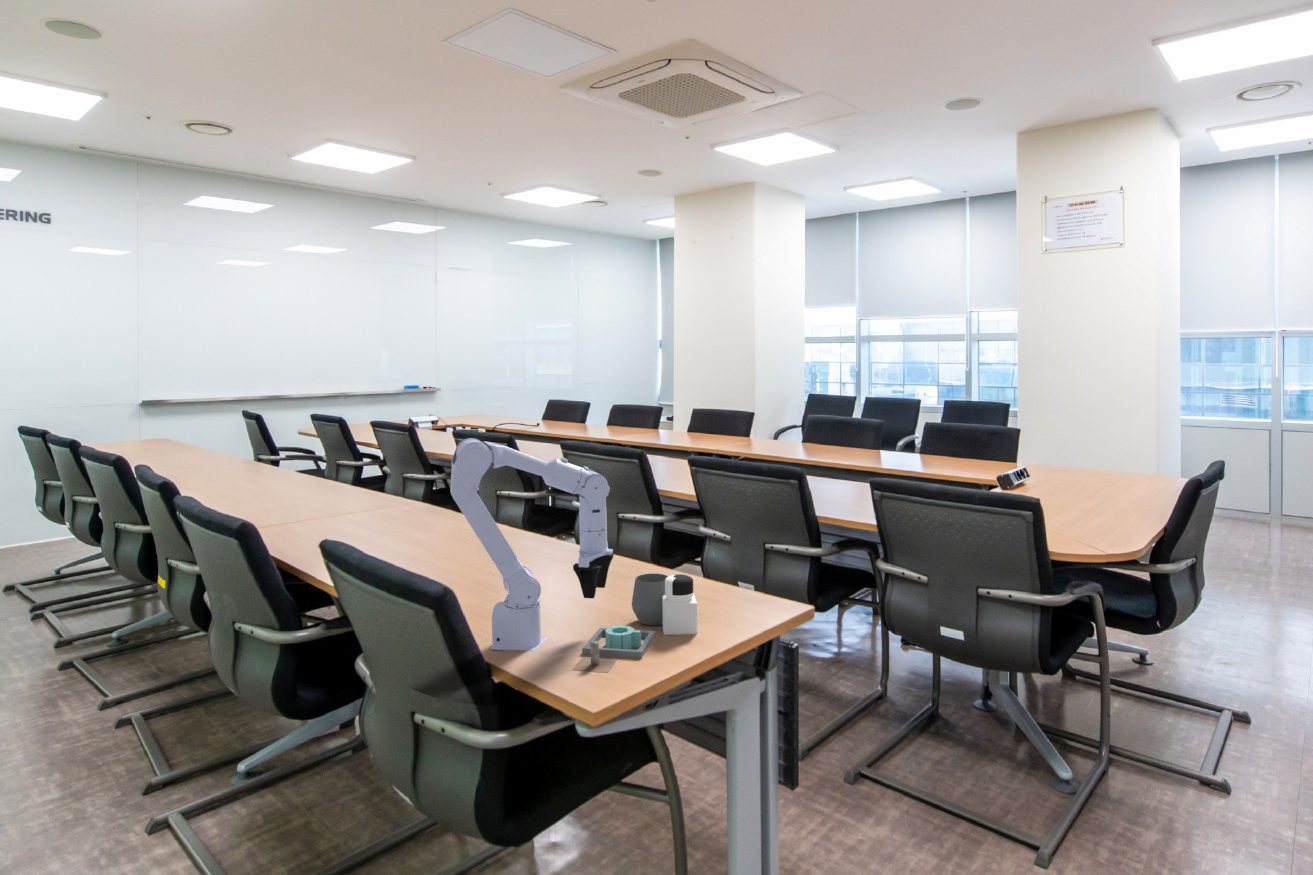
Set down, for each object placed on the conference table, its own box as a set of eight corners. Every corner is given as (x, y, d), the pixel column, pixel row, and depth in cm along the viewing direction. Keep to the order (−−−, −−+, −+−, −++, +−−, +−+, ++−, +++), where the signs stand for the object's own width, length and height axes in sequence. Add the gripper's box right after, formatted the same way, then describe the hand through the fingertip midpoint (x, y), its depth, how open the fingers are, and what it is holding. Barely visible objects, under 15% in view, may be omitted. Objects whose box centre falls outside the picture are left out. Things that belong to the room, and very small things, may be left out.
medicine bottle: (694, 625, 168) (694, 571, 166) (697, 636, 160) (697, 580, 159) (662, 625, 167) (661, 572, 166) (663, 637, 160) (663, 581, 159)
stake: (571, 673, 142) (571, 648, 142) (583, 659, 149) (582, 635, 148) (607, 675, 140) (607, 650, 140) (618, 661, 147) (617, 637, 147)
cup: (637, 630, 165) (636, 585, 164) (627, 617, 174) (626, 574, 173) (679, 626, 167) (678, 581, 166) (667, 613, 176) (666, 570, 175)
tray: (582, 656, 150) (582, 648, 150) (600, 636, 162) (599, 627, 161) (641, 661, 147) (641, 652, 147) (655, 639, 159) (655, 631, 159)
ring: (603, 649, 152) (602, 634, 152) (610, 639, 158) (610, 624, 157) (637, 651, 151) (636, 636, 150) (643, 641, 156) (643, 626, 156)
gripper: (601, 537, 152) (603, 603, 153) (620, 522, 166) (621, 583, 167) (567, 535, 153) (569, 601, 155) (589, 521, 167) (591, 582, 169)
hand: (594, 592), depth 161 cm, fingers open, 7 cm apart
